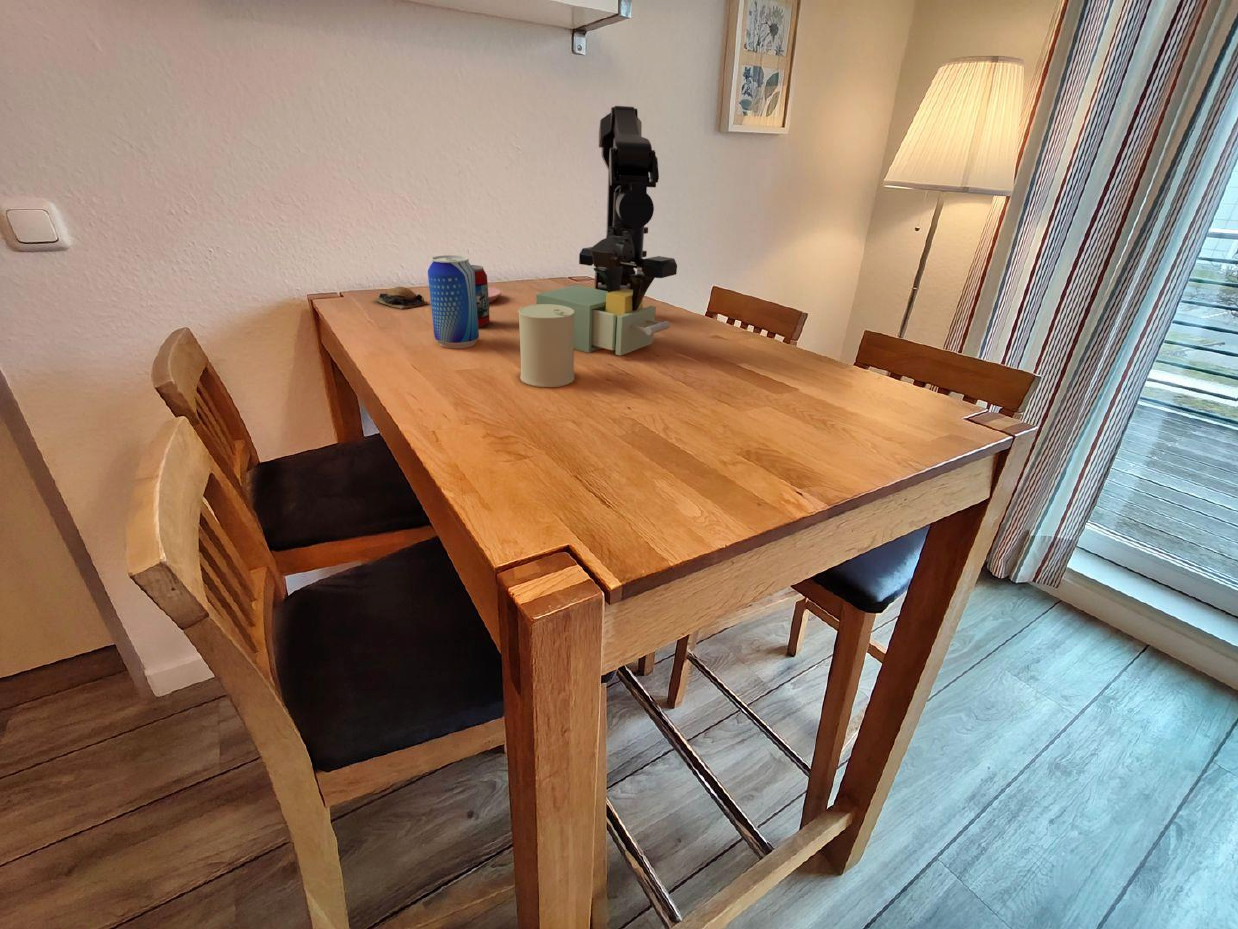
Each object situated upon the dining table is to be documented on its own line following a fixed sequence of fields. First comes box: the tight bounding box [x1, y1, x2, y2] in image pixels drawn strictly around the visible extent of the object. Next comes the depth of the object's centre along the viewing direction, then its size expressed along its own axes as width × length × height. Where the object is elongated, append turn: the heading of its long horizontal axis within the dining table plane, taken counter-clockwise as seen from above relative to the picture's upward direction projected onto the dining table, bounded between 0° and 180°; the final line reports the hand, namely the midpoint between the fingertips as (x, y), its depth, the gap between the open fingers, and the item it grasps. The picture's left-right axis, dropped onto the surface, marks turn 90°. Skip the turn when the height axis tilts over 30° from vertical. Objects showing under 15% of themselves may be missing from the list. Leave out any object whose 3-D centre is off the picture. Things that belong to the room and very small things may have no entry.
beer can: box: [427, 254, 480, 350], centre depth 111 cm, size 8×8×16 cm
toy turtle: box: [374, 286, 428, 310], centre depth 140 cm, size 11×8×4 cm
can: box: [517, 303, 575, 388], centre depth 97 cm, size 9×9×12 cm
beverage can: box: [470, 264, 491, 328], centre depth 125 cm, size 7×7×12 cm
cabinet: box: [535, 284, 608, 354], centre depth 119 cm, size 14×13×9 cm
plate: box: [488, 286, 502, 304], centre depth 147 cm, size 14×14×2 cm
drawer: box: [591, 305, 671, 357], centre depth 114 cm, size 18×11×7 cm, turn 54°
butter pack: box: [606, 289, 644, 317], centre depth 112 cm, size 4×6×4 cm
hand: (624, 308), depth 112 cm, fingers closed on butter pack, 4 cm apart
